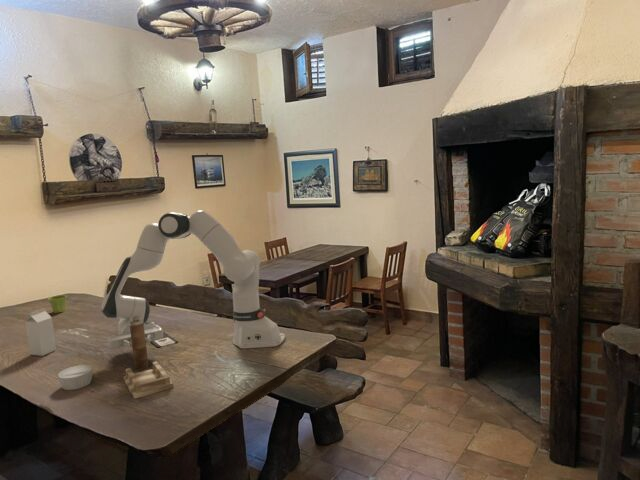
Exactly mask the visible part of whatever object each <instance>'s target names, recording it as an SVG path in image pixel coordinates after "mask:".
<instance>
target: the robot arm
mask: <svg viewBox="0 0 640 480" xmlns="http://www.w3.org/2000/svg"><path fill="white" fill-rule="evenodd" d="M158 220H159V221H158V223H157V222H155V223H154V222H152V223H148V224H146V225H145V226H144V227H143V230H142V232H141V234H140V237H139V239H138V242H137V245H136V249H135V251H134V252H133V253H132V255H130V256H128V257H126V258H125V259H123V260H124V261H123V262H122V264H121V265H120V267H119V269H118V270H117V272H116V273H117V274H116V276H115V277H114V279H113V281H112V284H111V286H110V289H109V290H108V292H107V293H106V295H105V297H104V299H103V300H102V304H101V312H102V314H103V315H104V316H105V317H106V318H108V319H120V320H119V321H118V324H117V329H118V333H116V334H113V335H109V337H108V338H106V340H105V341H106V343H107V344H108V348H109V349H110V350H115V349H121V348H123V347H128V348H132V341H131V332H130V321H132V320H133V317H134V316H138V317H139V319H141V320H142V321H143V323H144V331H145V340H146V344H149V343H150V344H151V342H150V341H152V340H156V339H161V338H163V332H164V330H163V328H162V327H161V326H159V325H158V324H156V323H155V322H154V321H148V319H149V316H150V311H151V310H150V308H151V307H150V306H151V305H150V304H149V302H148V300H147V298H145V297H138V296H132V295H125V294H121V292H122V290H123V288H124V286H125V283H126V282H127V280H128V278H129V277H130V276H131V275H133V274H135V273H139V272H144V271H150V270H153V269H155V268H156V267H158V266H160V264H161V263H162V260H163V257H164V254H165V250H166V246H167V243H168V242H169V240H171V239H172V240H173V239H174V240H175V239H178V240H179V239H180V240H181V239H186V238H187V237H189V236H190V235H191V234H192V235H194V236H195V237H196V238H197V239H198V240H199V241H200V242H201V243H202V244H203V245H204V246H205V247H206V248H207V250H209V251H210V252H211V253H212V254H213V256H214V257H215V258H216V260H217V261H218V263H219V265H220V266H221V268H222V270H223V273H224V275H225V277H226V278H227V279H228V280H229V281H231V282H234V283H233V289H232V305H233V310H232V318H233V319H232V320H233V323H234V332H233V339H232V343H233V345H235V346H237V347H238V348H239V349H255V348H256V349H257V348H259V349H260V348H270V347H271V348H272V347H273V348H274V347H277V346H279V345H282V343H283V342H284V341H285V339H286V335H285V333H281V332H280V329H279V326H278V324H277V322H274V321H272V320H271V319H270V318H268V317H267V316H265V315H266V314H265V312H266V308H264V309H263V308H261V307H260V295H259V285H260V265H261V257H260V255H259V254H258V253H257V252H256V251H254V250H249V249H245V250H241V248H240V247H239V245H238V244H237V243H236V240H235V237H234V236H233V235H232V234H231V233H230V232H229V231H228V229H226V227H224V226H223V225H222V224H221V223H220V221H218V220H217V219H216V218H215V217H214V216H212V215H211V214H210V213H208V212H207V211H205V210H203V209H200V210H196V211H194V212H193V213H192V214H191V215H186V214H184V213H182V212H172V211H171V212H166V213H165V214H163V215H162V216H161V217H160V218H159V219H158Z"/></svg>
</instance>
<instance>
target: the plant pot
mask: <svg viewBox="0 0 640 480" xmlns="http://www.w3.org/2000/svg"><path fill="white" fill-rule="evenodd" d="M67 297H68V295H64V294H63V295H62V294H61V295H54V296H50V297H48V299H47V300H48V301H49V303H50V307H51V308H52V312H53V314H59V313H63V312H66V301H67Z"/></svg>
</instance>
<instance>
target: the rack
mask: <svg viewBox="0 0 640 480" xmlns="http://www.w3.org/2000/svg"><path fill="white" fill-rule="evenodd" d="M125 373H126V374H125V376H123V381H124V383H125V385H126V386H127V389H128V391H129V392H130V394H131V395H132V397H133V399H138V398H141V397H146V396H149V395H152V394H156V393H159V392H163V391H166V390H169V389H173V388H174V387H175V385H174V382H173V381H172V380H171V378H170V376H169V375H168V374H167V372H166V371H165V370H164V368H163V367H162V366H161V365H160V364H159V362H158V361H153V362H152V369H147V370H144V371H140V372H136V373H134V372H133V371H132V369H131V368H130V367H129V368H126V369H125Z"/></svg>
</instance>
